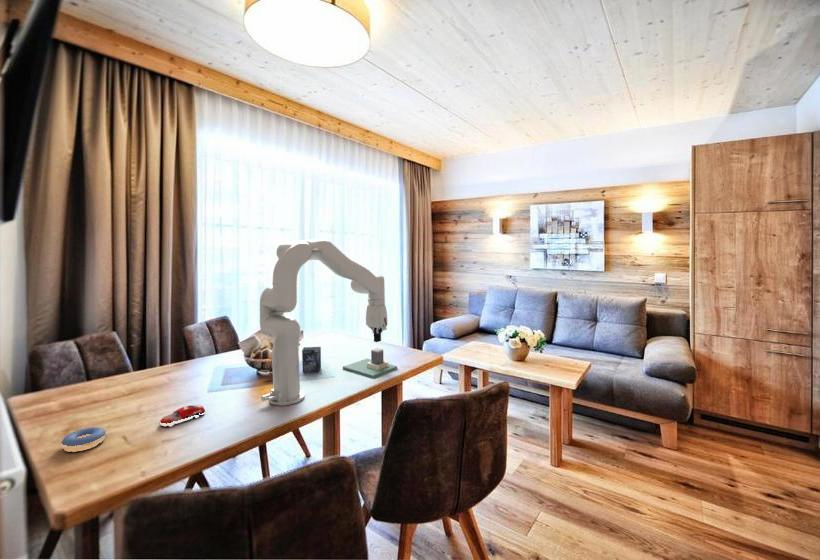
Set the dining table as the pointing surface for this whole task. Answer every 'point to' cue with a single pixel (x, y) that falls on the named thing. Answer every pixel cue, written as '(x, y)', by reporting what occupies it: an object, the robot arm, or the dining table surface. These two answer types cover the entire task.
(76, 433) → the doughnut
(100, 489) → the dining table surface
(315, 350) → the box
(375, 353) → the plug
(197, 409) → the race car
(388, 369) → the board
